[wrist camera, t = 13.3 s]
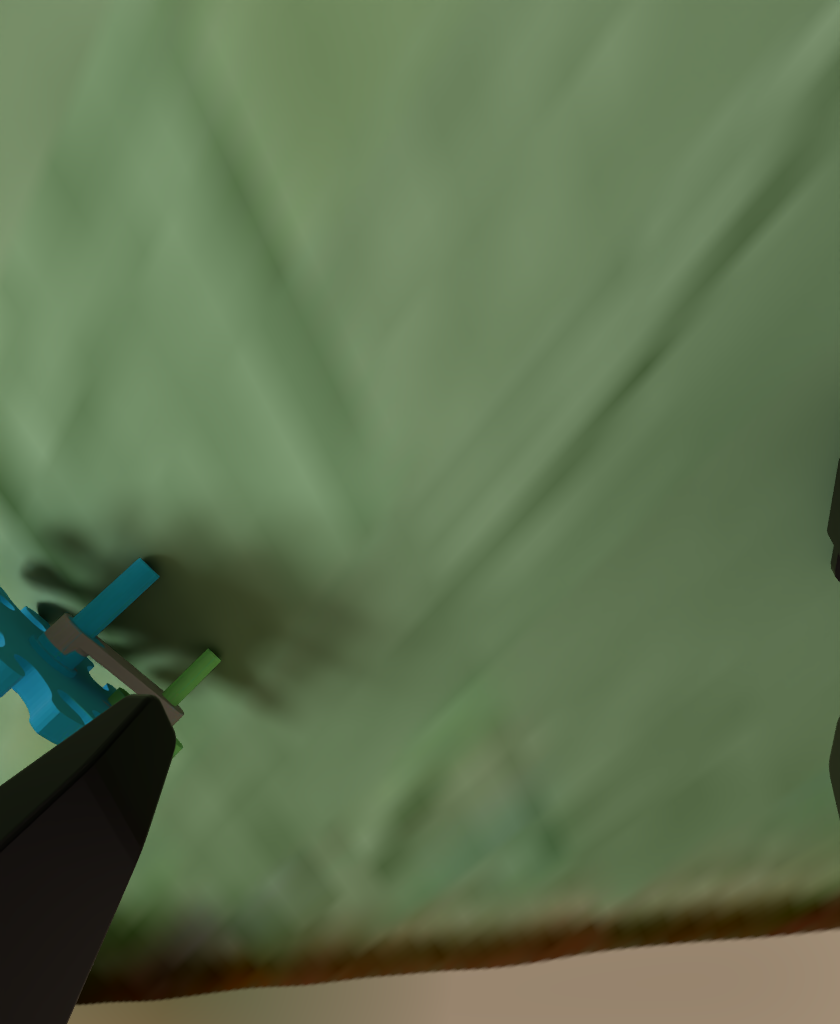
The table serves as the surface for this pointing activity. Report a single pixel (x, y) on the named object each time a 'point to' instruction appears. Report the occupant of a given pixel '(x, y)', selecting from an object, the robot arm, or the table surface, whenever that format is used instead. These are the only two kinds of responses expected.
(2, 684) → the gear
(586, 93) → the table surface
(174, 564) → the table surface
